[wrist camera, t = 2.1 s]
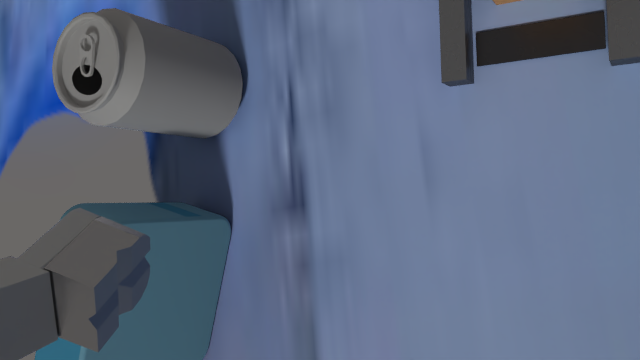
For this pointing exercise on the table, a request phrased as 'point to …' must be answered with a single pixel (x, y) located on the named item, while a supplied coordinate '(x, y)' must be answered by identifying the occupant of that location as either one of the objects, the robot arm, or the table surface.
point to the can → (145, 76)
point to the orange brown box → (503, 1)
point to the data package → (164, 285)
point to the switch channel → (534, 38)
